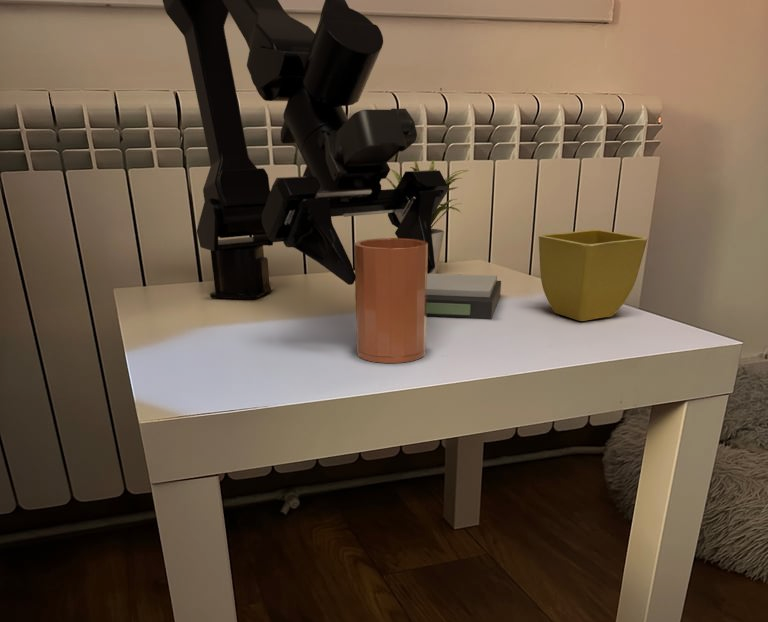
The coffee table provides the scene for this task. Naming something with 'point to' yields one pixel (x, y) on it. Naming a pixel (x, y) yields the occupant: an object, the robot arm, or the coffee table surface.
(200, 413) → the coffee table surface
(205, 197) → the robot arm
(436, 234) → the house plant
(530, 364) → the coffee table surface
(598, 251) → the flower pot
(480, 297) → the scale
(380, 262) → the cup
